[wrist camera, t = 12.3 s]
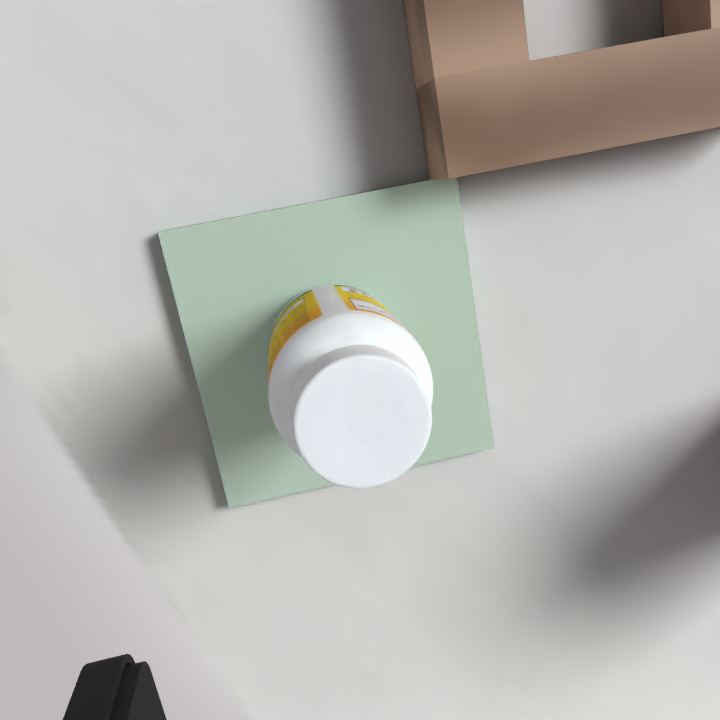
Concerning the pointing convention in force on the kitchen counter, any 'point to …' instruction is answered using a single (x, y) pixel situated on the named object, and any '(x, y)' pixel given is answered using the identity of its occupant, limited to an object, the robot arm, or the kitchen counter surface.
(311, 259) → the place mat
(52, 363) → the kitchen counter surface
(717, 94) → the block
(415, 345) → the supplement bottle
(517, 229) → the kitchen counter surface
